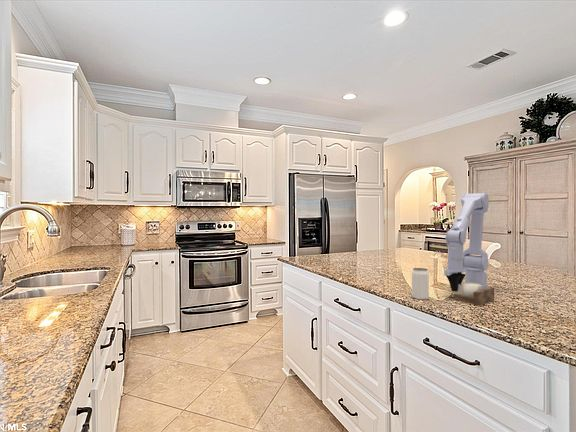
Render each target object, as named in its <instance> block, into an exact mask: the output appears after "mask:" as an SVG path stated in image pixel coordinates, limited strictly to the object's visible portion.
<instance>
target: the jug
mask: <svg viewBox="0 0 576 432" xmlns="http://www.w3.org/2000/svg"><path fill="white" fill-rule="evenodd" d="M480 289H482V285H480V284H478V283H472V282H466V281H465V282H462V283H461V284H458V290H457V292H455V291H452V290H451V292H452V294H455V295H456V294H457V295H462V296H467V297H472V298H474V292H475V291H479V290H480Z"/></svg>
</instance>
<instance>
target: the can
mask: <svg viewBox="0 0 576 432" xmlns="http://www.w3.org/2000/svg"><path fill="white" fill-rule="evenodd" d="M429 275H430V274H429V271H428V269H427V268H423V267H414V268H412V271H411V297H412V298H413V299H415V300H420V301H426V300H428V299H429V297H430V295H429V294H430V293H429V289H430V288H429V287H430V285H429V284H430V281H429V280H430V277H429Z"/></svg>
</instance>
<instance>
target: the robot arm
mask: <svg viewBox="0 0 576 432" xmlns="http://www.w3.org/2000/svg"><path fill="white" fill-rule="evenodd" d="M460 200H461V201H460V203H461V206H462V207H461V211H460V214H459V216H457V217H456V218H455V219H454V221H453V224H452V226H451V228H450V229H449V230H447V231H446V233H445V242H446V247H447V268H446V269H445V270H443V271H444V273H443V275H444V276H446V278H447V280H448V283H449V285H450V289H451V292H452V291H455V292H457V290H458V284H463V281H464V278H465V282H472V283H478V284H480V285H482V289H485V288H488V284H487V282H488V274H487V272H486V271H487V269H488V268H489V258H488V257H489V255H488V253H487V252H486V251H485V250H484V249H482V245H483V243H482V241H483V228H484V217H485V213H487V212H489V211H488V209H489V203H490V199H489V195H488V194H487V193H486V192H478V193H477V192H476V193H463V194H462V195H461V198H460ZM470 217H471V218H470ZM469 226H470V229H469V230H470V232H469V245H468V247H469V248H467V249H465V250H464V245H465V244H466V242H467V235H468V233H467V230H468V228H469ZM482 289H480V290H482Z"/></svg>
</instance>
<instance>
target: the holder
mask: <svg viewBox="0 0 576 432" xmlns="http://www.w3.org/2000/svg"><path fill="white" fill-rule="evenodd" d="M454 301H458V302H462V303H463V302H464V303H468V304H472V305H473V306H476V307H478V306H481V305H485V304H487V303H490V302H493V301H495V287H492V286H489V287H487V288H485V289H482V290H479V291H475V292H474V298H472V297H467V296H463V295H461V294H456V293H455V294H454Z"/></svg>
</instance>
